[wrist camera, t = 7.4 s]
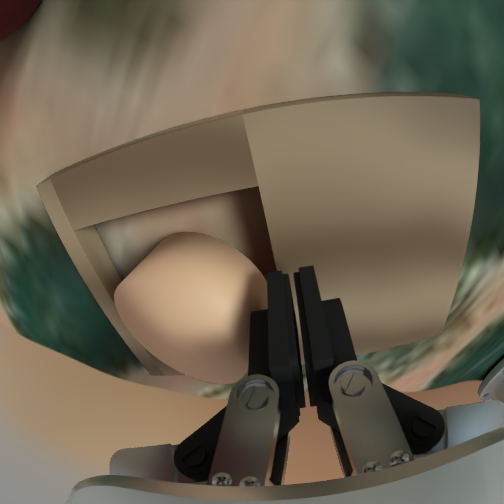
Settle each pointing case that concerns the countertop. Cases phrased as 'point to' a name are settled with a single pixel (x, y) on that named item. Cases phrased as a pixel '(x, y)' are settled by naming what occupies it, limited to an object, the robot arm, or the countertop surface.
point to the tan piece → (306, 201)
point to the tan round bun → (194, 306)
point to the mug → (15, 14)
